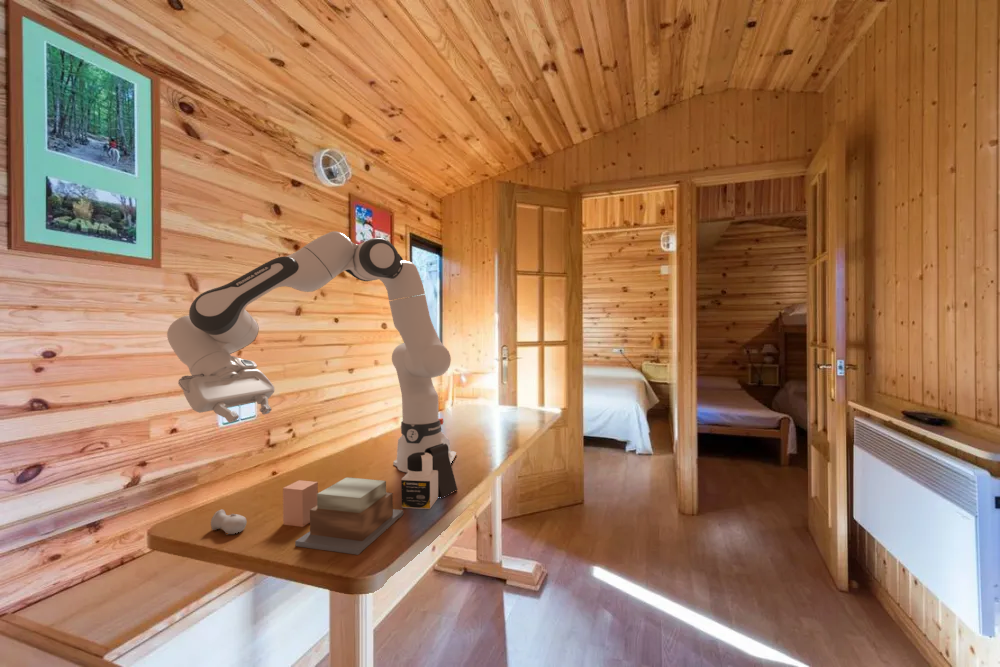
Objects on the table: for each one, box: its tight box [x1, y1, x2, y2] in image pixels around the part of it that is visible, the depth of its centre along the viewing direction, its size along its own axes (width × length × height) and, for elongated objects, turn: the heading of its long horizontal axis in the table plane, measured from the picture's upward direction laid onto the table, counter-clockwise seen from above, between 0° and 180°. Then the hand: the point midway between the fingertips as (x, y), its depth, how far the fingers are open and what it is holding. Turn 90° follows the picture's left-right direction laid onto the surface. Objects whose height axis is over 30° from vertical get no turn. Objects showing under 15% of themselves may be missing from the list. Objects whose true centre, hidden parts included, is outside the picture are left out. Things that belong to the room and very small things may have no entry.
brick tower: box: [309, 476, 394, 541], centre depth 91 cm, size 12×12×8 cm
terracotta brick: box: [282, 479, 319, 528], centre depth 95 cm, size 5×5×8 cm
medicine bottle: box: [400, 452, 439, 510], centre depth 104 cm, size 7×7×12 cm
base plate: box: [295, 508, 404, 555], centre depth 91 cm, size 18×14×1 cm
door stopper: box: [425, 443, 458, 499], centre depth 111 cm, size 9×6×12 cm, turn 54°
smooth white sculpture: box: [210, 509, 248, 535], centre depth 91 cm, size 4×8×5 cm
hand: (252, 416), depth 98 cm, fingers open, 8 cm apart
